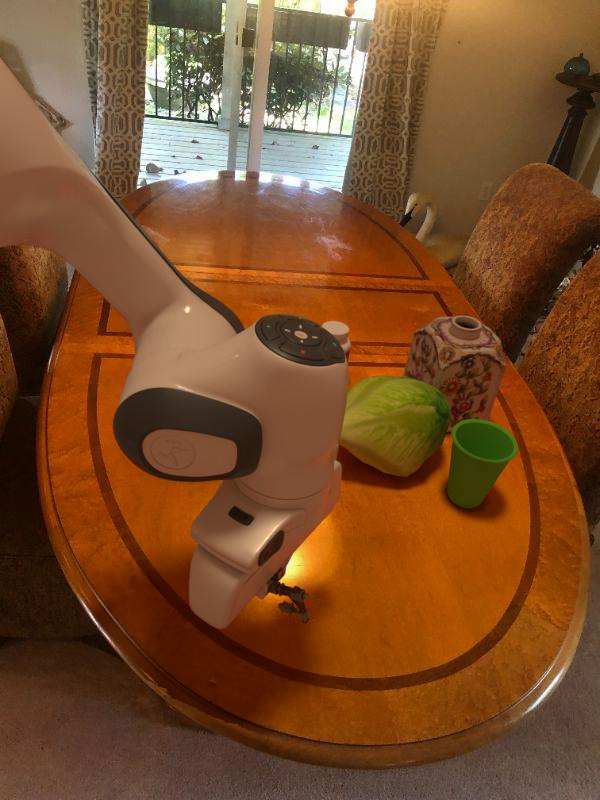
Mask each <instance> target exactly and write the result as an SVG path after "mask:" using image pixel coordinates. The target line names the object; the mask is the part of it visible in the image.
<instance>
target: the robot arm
mask: <svg viewBox="0 0 600 800" xmlns="http://www.w3.org/2000/svg"><path fill="white" fill-rule="evenodd" d="M13 246H29V247H37V248H41V249H44V250H47V251H49V252H51V253H53V254H54V255H56V256H59V257H60V258H61V259H63V260H64V261H66V262H67V263H68V264H69V265H70V266H71V267H72V268H73V269H74V270H76V272H78V274H79V275H80V276H81V277H82V278H83V279H84V280H85V281H86V282H87V283H88V284H89V285H90V286H91V287H92V288H93V289H94V290H95V291H96V292H97V293H98V294H99V295H100V296H101V297H102V298H103V299H104V300H105V301H106V302H107V303H108V304H109V305H110V306H111V307H112V308H114V310H115V311H116V312H117V313H118V314H119V315H120V316H121V317H122V318H123V319H124V321H125V322H126V323H127V325H128V327H129V329H130V332H131V335H132V339H133V346H134V355H133V359H132V361H131V365H130V368H129V371H128V373H127V375H126V378H125V381H124V382H123V383H124V384H123V386H122V389H121V392H120V396H119V399H118V402H117V406H116V409H115V412H114V415H113V418H112V432H113V436H114V440H115V442H116V444H117V446H118V447H119V449H120V451H121V452H122V453H123V454H124V456H125V457H126V459H128V460H129V461H130V462H131V463H132V464H133V465H134V466H136V467H137V468H138V469H140V470H141V471H143V472H145V473H146V474H149V475H150V476H153V477H155V478H158V479H162V480H167V481H171V482H183V483H184V482H185V483H201V482H202V483H203V482H214V481H216V482H217V481H222V482H221V483H220V485H219V486H218V489H217V490H216V491H215V493H214V494H213V496H212V497H211V498H210V500H209V501H208V503H207V504H206V505H205V506H204V508H203V509H202V510H201V511H200V512H199V514H198V515H197V516H196V518H194V520H193V522H192V524H191V526H190V537H191V539H192V540H193V541H195V542H196V543H197V546H196V547H195V549H194V551H193V554H192V557H191V560H190V566H189V578H188V603H189V607H190V610H191V611H192V612H193V613H194V614H195V615H196V616H197V617H198V618H200V619H201V620H202V621H204V622H205V623H207V624H208V625H210V626H211V627H213V628H215V629H220V630H223V629H226V628H228V627H229V626H230V624H232V623H233V621H234V620H235V619H236V618H237V617H238V616H239V614H241V612H242V611H243V610H244V609H245V608H246V606H248V604H249V603H250V602H251V601H252V600H253V599H254V598H255V597H257V598H258V599H260V600H264V599H265V598H266V597H267V596H268V595H269V594H270V593H269V592H270V591H271V590H272V585H273V581H276V582H281V580H282V579H283V578H284V577H285V575H286V572H287V567H288V565H289V563H290V561H291V559H292V557H293V555H294V553H296V551H297V550H298V549H299V548H300V547H301V545H302V544H304V542H305V541H306V540H307V539H308V538H309V537H310V536H311V534H313V532H314V531H315V530H316V529H317V528H318V527H319V526H320V525H321V523H322V522H323V521H324V520H325V519H326V518H327V517H328V515H330V514H331V513H332V511H333V510H334V509H335V507H336V506H337V503H338V500H339V498H340V494H341V493H340V492H341V486H342V478H343V466H342V463H341V462H340V461H338V460H337V458H338V453H339V446H340V445H338V444H337V443H338V441H339V439H340V437H341V433H342V427H343V422H344V417H345V410H346V403H347V394H348V390H349V381H350V379H349V377H350V376H349V375H350V374H349V372H350V371H349V361H348V362H347V358H346V355H345V353H344V350H343V348H342V346H341V345H340V343H339V342H338V340H337V339H336V338H335V337H334V336H333V335H332V334H331V333H330V332H329V331H327V330H326V329H324V328H323V327H322V325H320V324H319V323H317V322H316V321H313V320H310V319H308V318H305V317H302V316H299V315H294V314H289V313H288V314H287V313H272V314H267V315H263V316H262V317H260V318H258V319H257V320H256V321H254V322H253V324H252V325H250V326H249V327H247V328H245V326H244V324H243V322H242V321H241V320H240V318H239V317H238V315H237V314H236V313H235V312H234V311H233V310H232V309H231V308H230V307H228V306H227V305H226V304H225V303H223V302H222V301H221V300H219V299H217V298H216V297H214V296H212V295H210V294H209V293H208V292H206V291H205V290H204V289H201V288H200V287H198V286H197V285H195V284H194V283H193V282H191V281H190V279H188V278H187V277H185V276H184V274H182V273H181V271H179V270H178V268H177V267H176V266H175V265H174V264H173V263H172V262H171V260H170V259H169V258H168V257H167V256H166V254H165V253H164V252H163V251H162V250H161V249H160V247H159V246H158V245H157V244H156V243H155V241H154V240H153V239H152V238H151V237H150V236H149V234H148V233H147V232H146V231H145V229H143V227H142V226H141V225H140V224H139V223H138V222H137V220H136V219H135V218H134V216H133V215H132V214H131V213H129V211H128V210H127V209H126V208H125V206H124V204H122V203H121V202H120V200H119V199H118V198H117V197H116V196H115V195H114V193H112V192H111V190H110V189H109V188H108V187H107V186H106V185H105V183H104V182H103V181H102V180H101V179H100V178H99V177H98V176H97V175H96V174H95V173H94V172H93V171H92V170H91V169H90V168H89V167H88V166H87V165H86V163H85V162H84V161H83V160H82V159H81V157H79V155H78V154H77V153H76V152H75V151H74V150H73V149H72V148H71V146H70V145H68V143H67V141H65V140H64V138H63V137H62V136H61V135H60V133H59V132H58V131H57V129H55V127H54V126H53V124H52V123H51V122H50V120H49V119H48V118H47V117H46V115H45V114H44V113H43V112H42V110H41V109H40V108H39V106H38V105H37V103H36V102H35V101H34V100H33V98H32V97H31V96H30V95H29V93H28V92H27V91H26V89H25V88H24V86H23V85H22V84H21V83H20V81H19V80H18V79H17V77H16V76H15V75H14V74H13V72H12V71H11V70H10V68H9V67H8V66H7V65H6V63H5V62H4V61H3V59H2V58H1V57H0V249H1V248H6V247H13Z"/></svg>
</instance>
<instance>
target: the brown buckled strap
mask: <svg viewBox="0 0 600 800" xmlns="http://www.w3.org/2000/svg"><path fill="white" fill-rule="evenodd" d="M268 594H271V595H275V596H278V597H282V596H284V597H287V598H289V600H290V601H292V602H291V603H290V602H288V601H286V600H283V602H279V603H278V604H277V608H278V609H279V610H280V612H281V614H286V615H288V617H289V618H291V616H292V615H293V614H294V615H296V614H298V616H299V619H300V621H301V623H302V624H305V625H307V624H308V623H309V622H310V616H309V615H310V613H309V609H308V608H307V607H306V603H305V601H307V600H309V599H310V594H309V593H308V592H307V591H306V589H305V588H301V587H300V586H298V585H294V586H293V587H292V586H289V585H286V584H285V582H281V581H279V582H276V581H273V585H272V590H271V591H270V592H269V593H268ZM295 606H296V607H295Z"/></svg>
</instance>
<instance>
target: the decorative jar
mask: <svg viewBox="0 0 600 800" xmlns="http://www.w3.org/2000/svg"><path fill="white" fill-rule="evenodd" d="M506 369H507V362H506V356H505V352H504V350H503V345H502V340H501V339H500V337H498V335H497V334H496V333H495V332H494V331H493V330H492V329H491V327H489V326H487V325H485V324H482V323H481V321H480V320H478V319H477V318H475V317H474V316H469V315H456V316H439V317H436V318H434V319H433V320H430V321H428V322H427V323H425V324H423V325H421V326H420V327H419V328H417V329H416V330H414V332H413V335H412V340H411V343H410V347H409V352H408V354H407V359H406V363H405V367H404V371H403V374H402V375H403V376H402V377H412V378H414V379H417V380H419V381H422V382H424V383H427V384H429V385H432V386H434V387H435V388H436V389H438V390H439V391H440V392H442V394H443V396H444V397H445V399H446V401H447V403H448V404H449V406H450V412H451V420H450V424H449V427H448V430H447V433H451V432H452V429H453V427H454V426H455V425H456V424H457V423H459V422H460V421H463V420H467V419H481V420H486V421H489V418H490V416H491V413H492V410H493V407H494V405H495V401H496V398H497V396H498V393H499V390H500V387H501V384H502V381H503V378H504V374H505V372H506Z"/></svg>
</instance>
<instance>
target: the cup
mask: <svg viewBox="0 0 600 800" xmlns="http://www.w3.org/2000/svg"><path fill="white" fill-rule="evenodd" d="M450 433H451V434H450V435H451V439H452V445H451V453H450V459H449V460H450V461H449V469H448V478H447V486H446V493H447V496H448V498H449V500H450V501H451V502H452V503H453V504H455V506H458V507H460V508H463V509H474V508H477V507H479V506H480V505H481V504H482V503H483V501H484V500H485V499H486V497H487V495H488V494H489V493H490V492H491V490H492V488H493V487H494V485H495V484H496V482H497V480H498V479H499V477H500V476H501V474H502V473H503V471H504V470H505V468H506V467H507V466H508V464H509V462H510V461H512V460H513V459H514V458H516V457H517V455H518V452H519V446H518V442H517V440H516V438H515V437H514V435H513V434H512V433H511V432H510V431H509V430H507V429H506V428H504V427H503V426H501V425H499V424H497V423H495V422H492V421H489V420H488V421H486V420H481V419H467V420H463V421H460V422H459V423H457V424H456V425H455V426H454V427H453V429H452V432H450Z"/></svg>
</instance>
